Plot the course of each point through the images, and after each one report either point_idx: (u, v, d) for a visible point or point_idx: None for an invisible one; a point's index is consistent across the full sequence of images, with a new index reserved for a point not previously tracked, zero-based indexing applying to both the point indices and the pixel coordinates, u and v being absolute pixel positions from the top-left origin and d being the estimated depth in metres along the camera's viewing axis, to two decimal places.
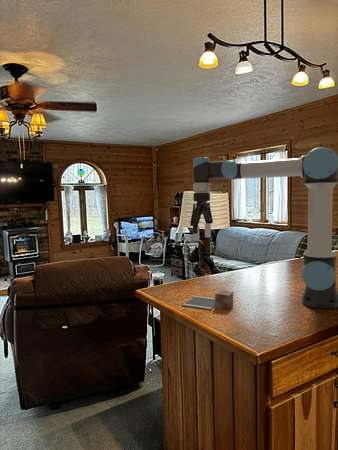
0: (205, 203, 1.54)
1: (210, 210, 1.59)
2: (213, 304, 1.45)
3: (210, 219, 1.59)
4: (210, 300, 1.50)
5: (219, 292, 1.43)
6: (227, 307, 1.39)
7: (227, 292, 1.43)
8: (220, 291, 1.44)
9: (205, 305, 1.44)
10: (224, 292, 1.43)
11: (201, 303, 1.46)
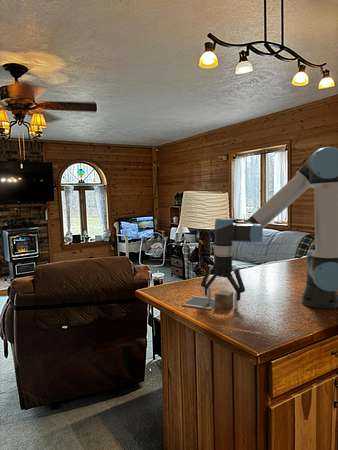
0: (225, 267, 1.40)
1: (238, 278, 1.38)
2: (213, 304, 1.45)
3: (237, 288, 1.38)
4: None
5: (219, 292, 1.43)
6: (227, 307, 1.39)
7: (227, 292, 1.43)
8: (220, 291, 1.44)
9: (205, 305, 1.44)
10: (224, 292, 1.43)
11: (201, 303, 1.46)
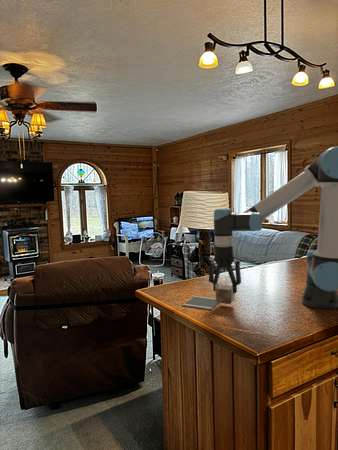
0: (227, 258, 1.39)
1: (237, 270, 1.38)
2: (213, 304, 1.45)
3: (233, 281, 1.39)
4: (210, 300, 1.50)
5: (220, 287, 1.43)
6: (228, 301, 1.39)
7: (228, 286, 1.43)
8: (221, 286, 1.44)
9: (205, 305, 1.44)
10: (225, 287, 1.43)
11: (201, 303, 1.46)
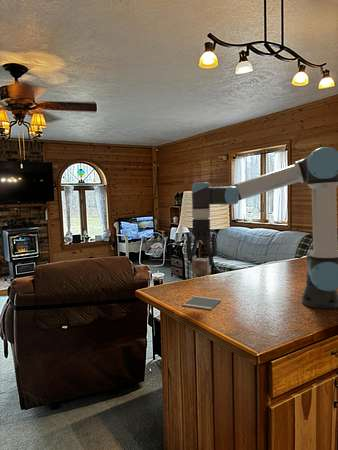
0: (203, 230, 1.43)
1: (213, 242, 1.41)
2: (213, 304, 1.45)
3: (210, 253, 1.42)
4: (210, 300, 1.50)
5: (197, 259, 1.46)
6: (204, 273, 1.43)
7: (204, 259, 1.46)
8: (198, 258, 1.48)
9: (205, 305, 1.44)
10: (202, 259, 1.46)
11: (201, 303, 1.46)
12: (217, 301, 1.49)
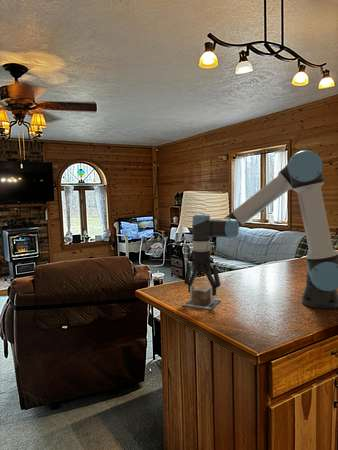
0: (204, 262, 1.44)
1: (215, 274, 1.42)
2: (213, 304, 1.45)
3: (213, 284, 1.43)
4: None
5: (197, 288, 1.48)
6: (204, 303, 1.44)
7: (205, 288, 1.47)
8: (198, 287, 1.49)
9: (205, 305, 1.44)
10: (202, 288, 1.48)
11: None
12: (217, 301, 1.49)
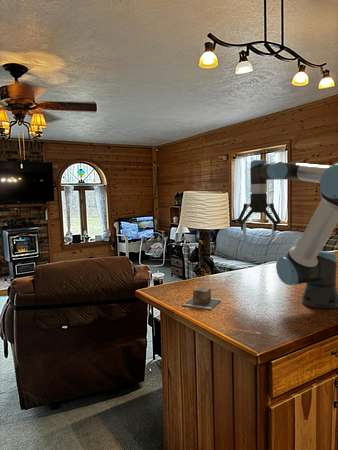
0: (261, 203, 1.58)
1: (274, 211, 1.56)
2: (213, 304, 1.45)
3: (273, 220, 1.56)
4: None
5: (197, 288, 1.48)
6: (204, 303, 1.44)
7: (205, 288, 1.47)
8: (198, 287, 1.49)
9: (205, 305, 1.44)
10: (202, 288, 1.48)
11: None
12: (217, 301, 1.49)
